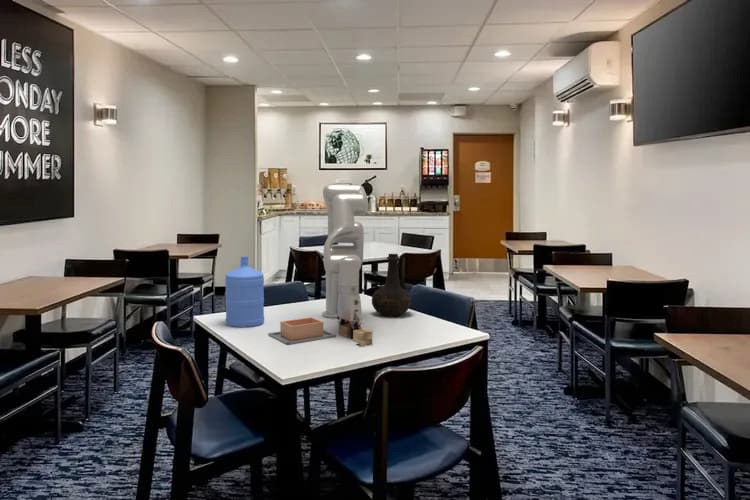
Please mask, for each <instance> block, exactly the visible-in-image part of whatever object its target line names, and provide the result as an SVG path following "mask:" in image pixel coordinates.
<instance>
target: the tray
mask: <svg viewBox="0 0 750 500" xmlns="http://www.w3.org/2000/svg"><path fill="white" fill-rule="evenodd" d="M267 336H268V337H271V338H273V339H274V340H276V341H278V342H280V343H282V344H284V345H286V346H293V345H297V344H304V343H309V342H315V341H321V340H327V339H332V338H337V334H336V333H332V332H330V331H327V330H325V329H324V336H322V337H316V338H310V339H304V340H298V341H290V340H288V339H286V338H284V337H281V331H276V332H275V331H274V332H269V333H268V334H267Z"/></svg>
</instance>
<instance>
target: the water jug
mask: <svg viewBox="0 0 750 500" xmlns="http://www.w3.org/2000/svg"><path fill="white" fill-rule="evenodd" d="M264 283H265V279H264V273H263V272H261V271H259V270H256V269H255V268H253V267H250V266H249V256H240V266H239V267H237V268H235V269H233V270H232V271H230V272H228V273H225V279H224V284H225V324H226V325H227V326H230V327H233V328H251V327H256V326H257V327H258V326H260V325H262V324H263V323H264V322H265V313H264V310H265V304H264V303H265V297H264V296H265V295H264V289H265V288H264V287H265V286H264Z"/></svg>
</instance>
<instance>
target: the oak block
mask: <svg viewBox="0 0 750 500" xmlns="http://www.w3.org/2000/svg"><path fill="white" fill-rule="evenodd" d="M352 341H353V342H355V345H356V346H358V345H359V347H367V346H370V344H372V345H373V330H370V329H368V328H365V327H364V328H360V329H358V330H353V339H352ZM366 345H367V346H366Z"/></svg>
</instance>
